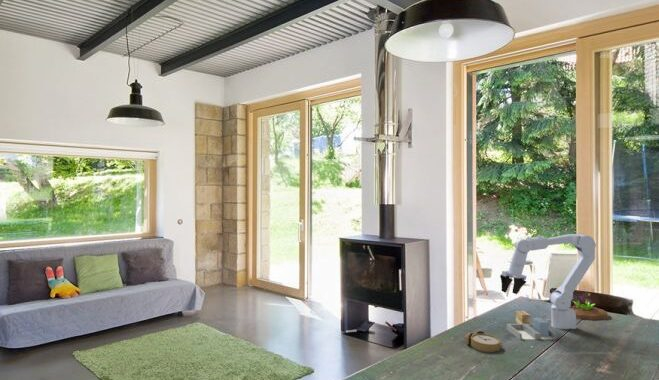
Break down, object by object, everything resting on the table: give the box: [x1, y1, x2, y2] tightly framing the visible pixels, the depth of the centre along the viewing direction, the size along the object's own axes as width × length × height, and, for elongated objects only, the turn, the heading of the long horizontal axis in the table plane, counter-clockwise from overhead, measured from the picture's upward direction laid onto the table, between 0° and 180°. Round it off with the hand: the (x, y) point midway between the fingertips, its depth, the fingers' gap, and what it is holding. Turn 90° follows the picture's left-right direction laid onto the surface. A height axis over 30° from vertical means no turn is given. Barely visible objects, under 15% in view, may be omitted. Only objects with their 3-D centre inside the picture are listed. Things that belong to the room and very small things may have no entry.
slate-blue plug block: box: [531, 317, 550, 337], centre depth 183 cm, size 4×7×6 cm, turn 178°
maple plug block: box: [515, 310, 531, 324], centre depth 198 cm, size 4×7×6 cm, turn 178°
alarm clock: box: [464, 330, 504, 353], centre depth 173 cm, size 11×5×15 cm
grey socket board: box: [506, 323, 558, 340], centre depth 184 cm, size 15×14×3 cm
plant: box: [569, 291, 609, 321], centre depth 215 cm, size 20×20×11 cm
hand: (509, 292), depth 198 cm, fingers open, 7 cm apart
